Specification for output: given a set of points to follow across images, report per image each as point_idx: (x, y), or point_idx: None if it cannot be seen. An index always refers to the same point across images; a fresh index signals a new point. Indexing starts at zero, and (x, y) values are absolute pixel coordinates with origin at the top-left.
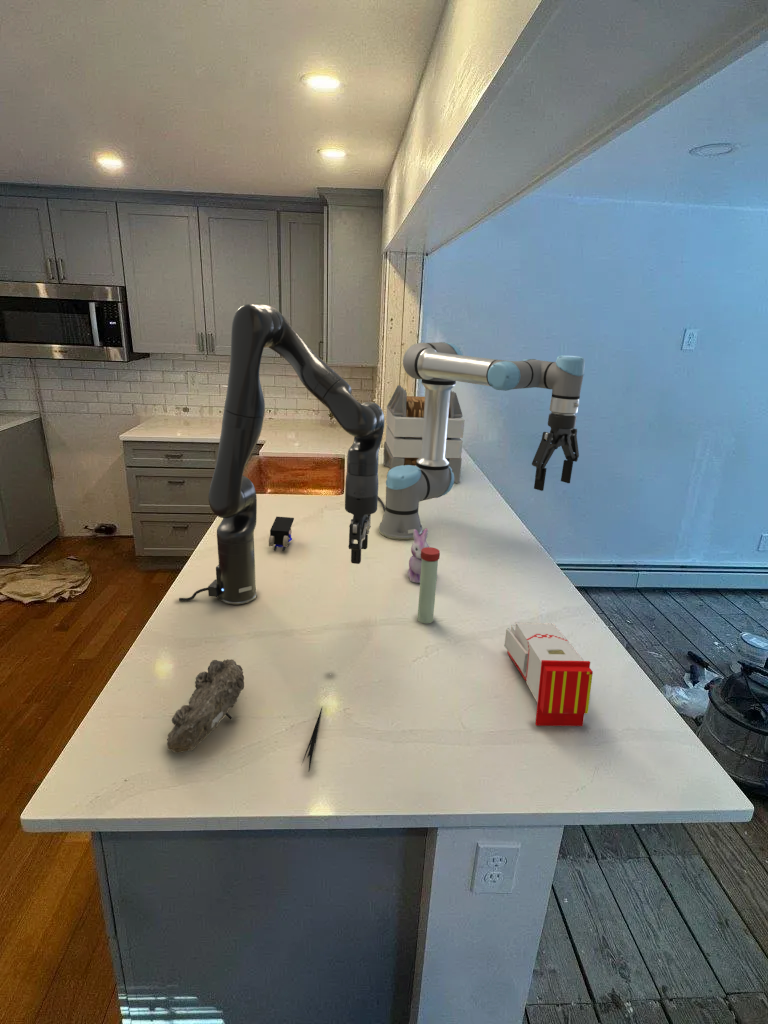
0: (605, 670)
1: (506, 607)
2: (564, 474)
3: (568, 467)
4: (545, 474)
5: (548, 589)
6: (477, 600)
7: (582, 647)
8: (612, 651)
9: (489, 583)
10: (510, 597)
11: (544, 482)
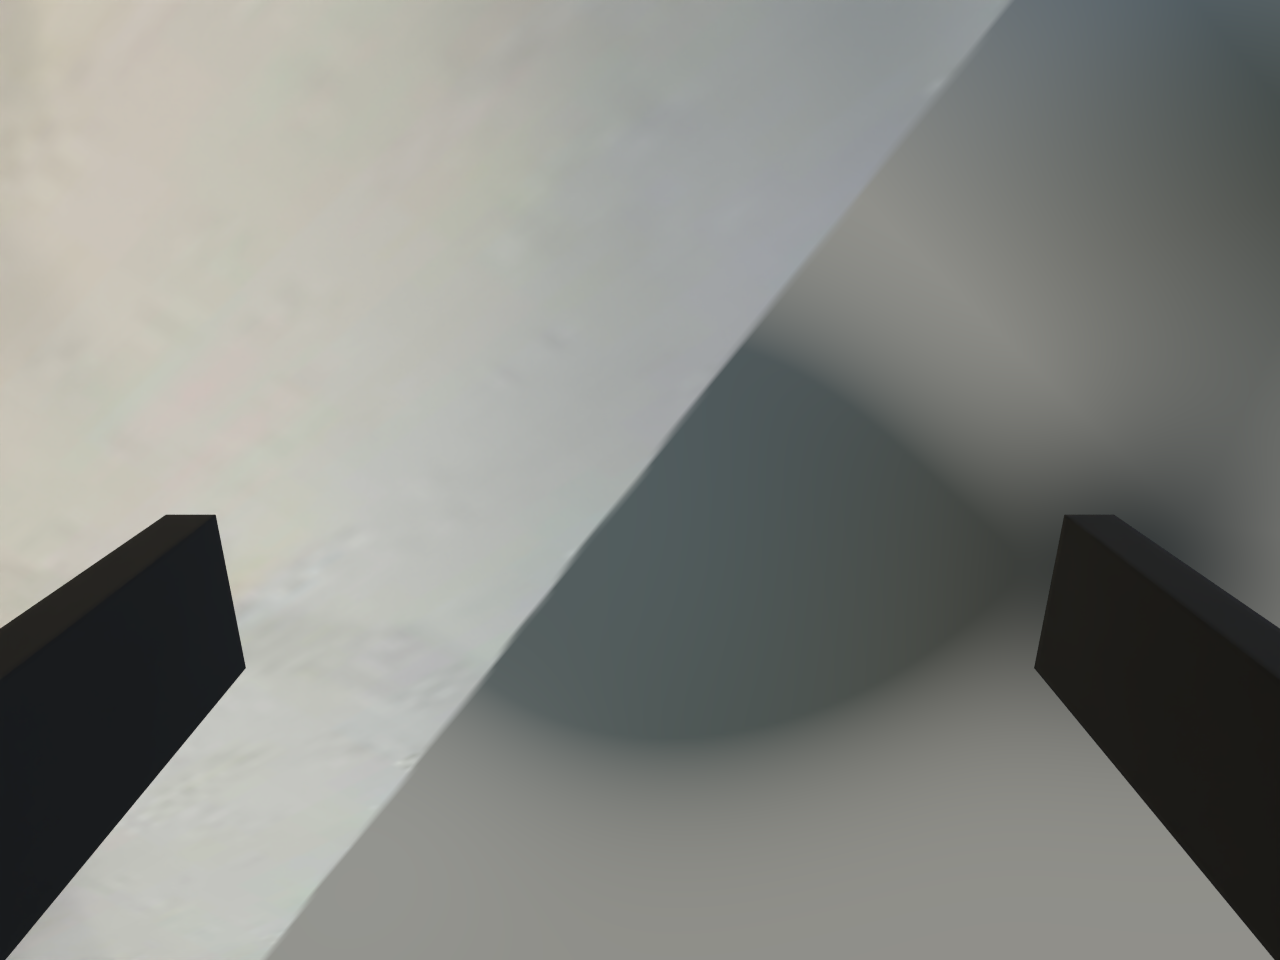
0: (167, 923)
1: (139, 468)
2: (1138, 652)
3: (1259, 851)
4: (31, 917)
5: (498, 480)
6: (37, 326)
7: (208, 823)
8: (291, 889)
9: (243, 225)
10: (236, 414)
11: (159, 769)
